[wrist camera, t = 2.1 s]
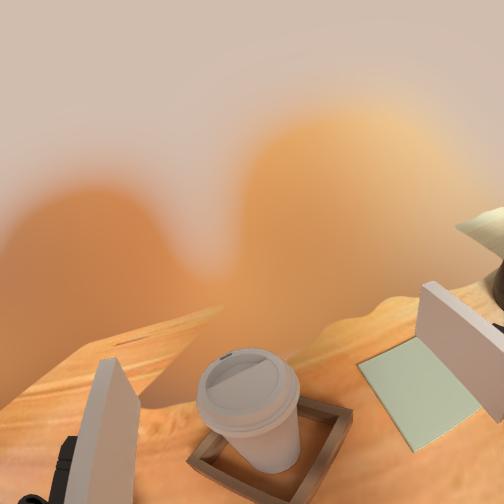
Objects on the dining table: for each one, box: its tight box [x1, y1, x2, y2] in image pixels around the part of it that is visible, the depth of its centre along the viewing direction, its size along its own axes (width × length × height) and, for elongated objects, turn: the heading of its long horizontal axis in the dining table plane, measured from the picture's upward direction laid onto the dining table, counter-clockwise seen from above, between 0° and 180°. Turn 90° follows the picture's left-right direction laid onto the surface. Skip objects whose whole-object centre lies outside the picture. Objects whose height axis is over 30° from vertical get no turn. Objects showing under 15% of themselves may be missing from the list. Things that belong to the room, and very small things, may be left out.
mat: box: [358, 337, 482, 453], centre depth 34 cm, size 16×16×1 cm
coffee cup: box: [197, 348, 301, 474], centre depth 29 cm, size 10×10×15 cm
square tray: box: [186, 396, 353, 504], centre depth 31 cm, size 14×14×3 cm
